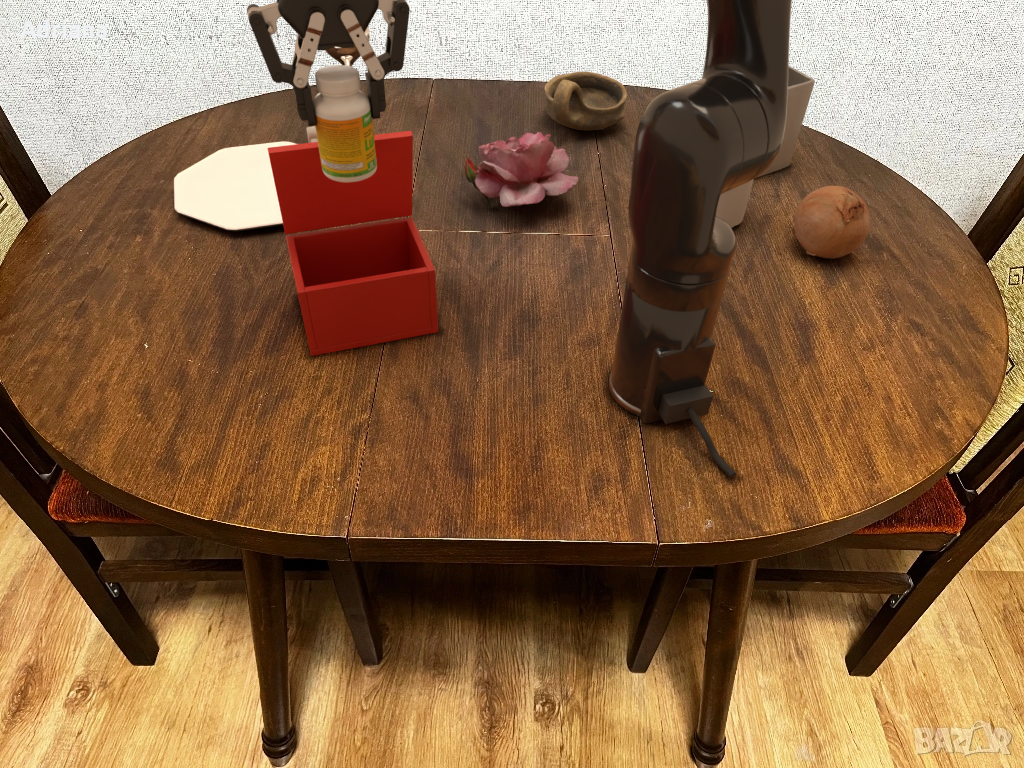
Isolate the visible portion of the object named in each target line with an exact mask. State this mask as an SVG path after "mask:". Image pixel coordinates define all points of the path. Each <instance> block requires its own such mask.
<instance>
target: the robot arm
mask: <svg viewBox="0 0 1024 768" xmlns="http://www.w3.org/2000/svg"><path fill="white" fill-rule="evenodd" d="M792 2H793V0H706V6H707V35H706V37H707V39H706V50H705V57H704V65H703V71H702V75H701V79H698V80H695V81H692V82H690V83H687V84H682V85H680V86H677V87H674V88H672V89H669V90H667V91H664V92H662V93H660V94H658V95H657V96H656V97H654V98H653V99H652V100H651V101H650V102H649V103H648V105H646V108H645V110H644V111H643V114H642V115H641V117H640V120H639V123H638V127H637V129H636V130H637V131H636V134H635V140H634V146H633V154H632V165H631V177H630V187H629V189H630V190H629V199H628V222H629V223H628V224H629V229H630V232H631V238H632V242H631V249H630V255H629V262H628V269H627V274H626V281H625V285H624V292H623V300H622V304H621V311H620V318H619V323H618V330H617V335H616V342H615V348H614V354H613V360H612V361H613V362H612V367H611V371H610V374H609V380H608V388H609V392H610V394H611V396H612V398H613V400H614V401H615V402H616V403H617V404H618V405H619V406H620V407H621V408H623V409H624V410H625V411H627V412H629V413H630V414H633V415H635V416H638V417H639V418H640V419H641V420H642V422H643V423H644V424H652V423H657V422H660V421H663V422H664V424H665V425H668V424H673V423H676V422H680V421H685V420H689V419H690V420H691V421H692V424H693V425H694V427H695V428H696V429H697V431H698V432H699V435H700V436H701V438H702V440H703V442H704V443H705V447H706V448H707V450H708V453H709V455H710V456H711V458H712V459H713V461H714V462H715V463H716V465H717V466H718V467H720V469H721V470H722V471H723V472H724V473H725V474H726V475H727V476H728V477H729V478H730V479H733V478H734V477H735V476H736V475H737V472H736V471H735V470H734V469H733V468H732V467H731V466H730V465H729V464H728V463H727V462H726V461H725V460H724V459H723V458H722V456H721V455H720V454H719V452H718V450H717V448H716V447H715V444H714V442H713V440H712V438H711V435H710V434H709V432H708V430H707V428H706V427H705V425H704V424H703V422H702V421H701V419H700V418H699V417H702V416H706V415H709V413H710V409H711V407H712V404H713V399H714V394H713V393H712V392H711V391H710V389H709V388H708V386H707V384H706V382H707V378H708V376H709V375H708V374H709V372H710V367H711V364H712V360H713V357H714V353H715V349H716V346H717V345H716V342H715V341H714V340H713V339H712V337H713V333H714V329H715V326H716V323H717V319H718V315H719V311H720V307H721V304H722V299H723V296H724V292H725V290H726V286H727V283H728V278H729V275H730V272H731V268H732V264H733V260H734V257H735V253H736V247H737V237H736V234H735V232H734V230H733V227H732V228H731V227H730V226H729V225H728V223H726V222H725V221H724V220H723V219H721V218H720V217H718V216H716V212H717V207H718V202H719V198H720V195H721V194H723V193H725V192H727V191H729V190H731V189H734V188H736V187H738V186H740V185H743V184H745V183H747V182H749V181H751V180H753V179H754V180H755V179H757V178H759V177H761V176H760V175H761V174H762V173H764V172H765V171H766V170H767V169H768V168H769V167H770V166H771V164H772V163H773V162H774V160H775V158H776V157H777V155H778V153H779V151H780V148H781V145H782V141H783V137H784V132H785V125H786V116H787V99H788V68H789V66H790V65H789V63H790V62H789V61H790V37H791V35H790V34H791V17H792V16H791V15H792V5H793V4H792ZM410 9H411V8H410V5H409V4H408V2H407V1H406V0H276V2H275V1H274V2H272V3H269V4H265V5H262V6H259V5H258V4H256V3H251V4H249V5H248V6H247V8H246V14H247V18H248V23H249V26H250V28H251V31H252V32H253V36H254V38H255V41H256V43H257V45H258V48H259V50H260V53H261V55H262V57H263V60H264V63H265V65H266V67H267V70H268V72H269V76H270V77H271V80H272V81H273V82H275V83H276V84H281V83H285V84H288V85H290V86H291V87H292V88H293V93H294V98H295V105H296V110H297V114H298V116H299V118H300V120H301V121H303V122H304V121H306V122H307V125H308V126H307V127H313V126H316V120H315V114H314V108H313V95H312V90H311V85H310V81H309V79H310V78H309V77H310V74H311V70H312V66H313V65H314V63H315V59H316V55H317V51H318V52H319V51H324V50H328V49H330V48H333V47H341V48H352V47H353V45H355V46H356V48H357V50H358V51H359V53H360V55H361V56H360V57H361V59H362V60H363V62H364V64H365V66H366V69H367V70H366V71H367V72H364V75H365V84H366V93H367V94H366V95H367V96H368V98H369V100H370V105H371V113H372V120H377V119H381V113H383V112H385V111H386V108H387V101H386V90H385V89H386V88H385V77H386V76H387V75H388V74H390V73H392V72H400V71H401V70H402V69H403V68H404V62H405V55H406V47H407V46H406V45H407V37H408V28H409V19H410V12H411V10H410ZM378 10H380V11H381V16H382V18H383V20H384V21H385V23H387V31H386V40H385V51H384V53H382V54H380V55H378V56H377V54H376V52H375V50H374V49H373V47H372V45H371V43H370V41H368V39H367V37H366V35H365V31H366V29H367V27H368V28H369V25H370V24H371V22H372V20H373V18H374V16H375V14H376V13H377V11H378ZM280 18H282V19H283V20H284V21H285V22H286V23H287V24H288V25H289V26H290V27H291V29H293V30H294V32H295V33H296V34H297V35H296V39H295V43H294V44H295V45H294V52H293V57H292V61H291V64H290V63H285V62H282V60H281V57H280V54H279V52H278V49H277V47H276V43H275V42H274V40H273V37H272V35H274V34H276V33H277V30H278V25H277V22H278V20H279V19H280ZM758 176H759V177H758Z"/></svg>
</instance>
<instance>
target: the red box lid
mask: <svg viewBox="0 0 1024 768" xmlns="http://www.w3.org/2000/svg"><path fill="white" fill-rule="evenodd" d="M306 136H307V141H308V142H305V143H295V145H287V146H279V147H270V148H267V149H268V154H269V158H270V163H271V168H272V173H273V178H274V183H275V187H276V192H277V197H278V202H279V207H280V211H281V216H282V221H283V225H282V226H283V229H284V231H283V232H284V234H285V235H293V234H299V233H306V232H313V231H320V230H326V229H333V228H340V227H346V226H353V225H360V224H367V223H373V222H380V221H387V220H394V219H400V218H407V217H412V216H413V183H414V181H413V179H414V178H413V177H414V176H413V173H414V172H413V170H414V169H413V168H414V167H413V166H414V165H413V164H414V163H413V161H414V160H413V158H414V155H413V154H414V134H413V131H412V130H404V131H396V132H395V131H394V132H387V133H379V134H374V141H375V151H376V160H377V169H376V171H375V173H374V174H373V175H372V176H371V177H369V178H367V179H364V180H361V181H357V182H337V181H334V180H332V179H330V178H328V177H327V176H326V175H325V174H324V173H323V170H322V165H321V159H320V152H319V146H318V140H317V133H316V127H315V126H306Z"/></svg>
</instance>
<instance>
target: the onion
mask: <svg viewBox="0 0 1024 768" xmlns="http://www.w3.org/2000/svg"><path fill="white" fill-rule="evenodd" d="M792 221H793V227H792V228H791V234H792V236H795V238H796V239H797V241H798V243H799V244H800V246H801V247H802V248H803V249H804V250H805V252H806V255H810V256H813V257H818V258H824V259H838V258H842V257H845V256H847V255H850V254H851V253H853V252H854V251H855V250H857V249H858V248H859V247H860V246H861V245H862V244H863V243H864V242H865V240H866V239H867V237H868V235H869V233H870V229H871V217H870V211H869V207H868V205H867V203H866V201H864V199H863V198H862V197H861V196H860V195H859V194H858V193H857V192H855V191H853V189H850V188H847V187H846V186H841V185H825V186H822V187H820V188H817V189H814V190H813V191H812V192H810V193H809V194H807V195H806V196H805V197H804V198H803V199H802V200H801V201H800V202H799V204H798V206H797V207H796V210H795V212H794V215H793V219H792Z"/></svg>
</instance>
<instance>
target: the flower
mask: <svg viewBox="0 0 1024 768" xmlns="http://www.w3.org/2000/svg"><path fill="white" fill-rule="evenodd" d="M551 136H552V135H551V133H550V134H547V133H546V134H545V135H543V133H542V132H541V131H537V132H536V133H532V132H525V133H524V134H522V135H521V136H520V137H516V136H511V137H509V138H508V139H507V140H506V141H505V140H503V139H498V140H496V141H494V142H490V143H489V142H488V143H486V144H482V145H481V144H480V145H479V146H478V154H479V158H480V161H481V162H480V163H479V165H477V164H476V163H475V162H474V161H473V160H472V158H471V156H468V157H467V158H466V159H465V165H464V166H463V168H464V175H465V179H466V180H467V181H468V182H469V183H471V184H472V185H473V187H474V188H475V189H477V190H478V191H479V193H480V194H481V195H482V196H483V197H484V199H485V201H486V202H487V204H488V205H489V207H490V208H491V209H490V210H493V205H492V202H491V200H490V199H499V204H501V206H502V207H505V208H508V207H516V206H522V205H526V206H527V205H532V204H535V205H537V204H539V203H541V202H542V201H543V200H544V198H545V197H546V196H549V197H553V196H554V197H555V196H560V195H562V194H566V193H568V192H569V191H571V190H572V189H573V188H574V187H575V186H576V185H577V183H578V182H579V176H572V175H567V174H565V173H564V172H565V170H566V169H567V168H568V167H569V164H570V156H569V155H568V154H567V152H566V149H565V148H559V149H558V148H557V146H555V145H554V142H552V141H550V138H551Z"/></svg>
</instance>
